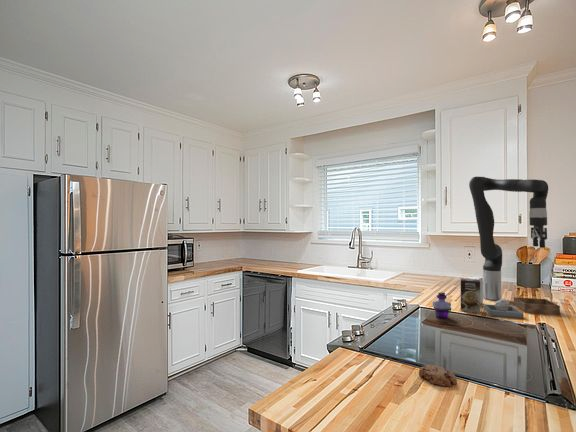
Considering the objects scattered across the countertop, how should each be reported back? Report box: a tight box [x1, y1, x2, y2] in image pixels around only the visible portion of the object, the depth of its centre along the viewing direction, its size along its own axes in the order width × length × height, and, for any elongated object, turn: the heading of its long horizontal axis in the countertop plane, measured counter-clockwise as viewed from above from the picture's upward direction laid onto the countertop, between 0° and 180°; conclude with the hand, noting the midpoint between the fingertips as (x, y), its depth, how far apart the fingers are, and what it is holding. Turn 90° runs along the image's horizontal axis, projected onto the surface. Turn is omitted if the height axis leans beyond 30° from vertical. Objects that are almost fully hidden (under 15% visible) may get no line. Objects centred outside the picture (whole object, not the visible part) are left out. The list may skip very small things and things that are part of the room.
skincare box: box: [466, 275, 484, 305], centre depth 183 cm, size 8×6×15 cm
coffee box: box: [459, 278, 481, 314], centre depth 169 cm, size 9×6×16 cm
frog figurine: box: [494, 298, 511, 312], centre depth 162 cm, size 6×7×7 cm
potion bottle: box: [432, 291, 452, 320], centre depth 157 cm, size 9×9×12 cm
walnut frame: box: [513, 296, 561, 316], centre depth 169 cm, size 15×15×4 cm
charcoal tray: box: [482, 303, 524, 319], centre depth 162 cm, size 14×14×3 cm
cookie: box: [418, 364, 458, 388], centre depth 96 cm, size 10×11×3 cm
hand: (538, 246), depth 172 cm, fingers open, 8 cm apart
